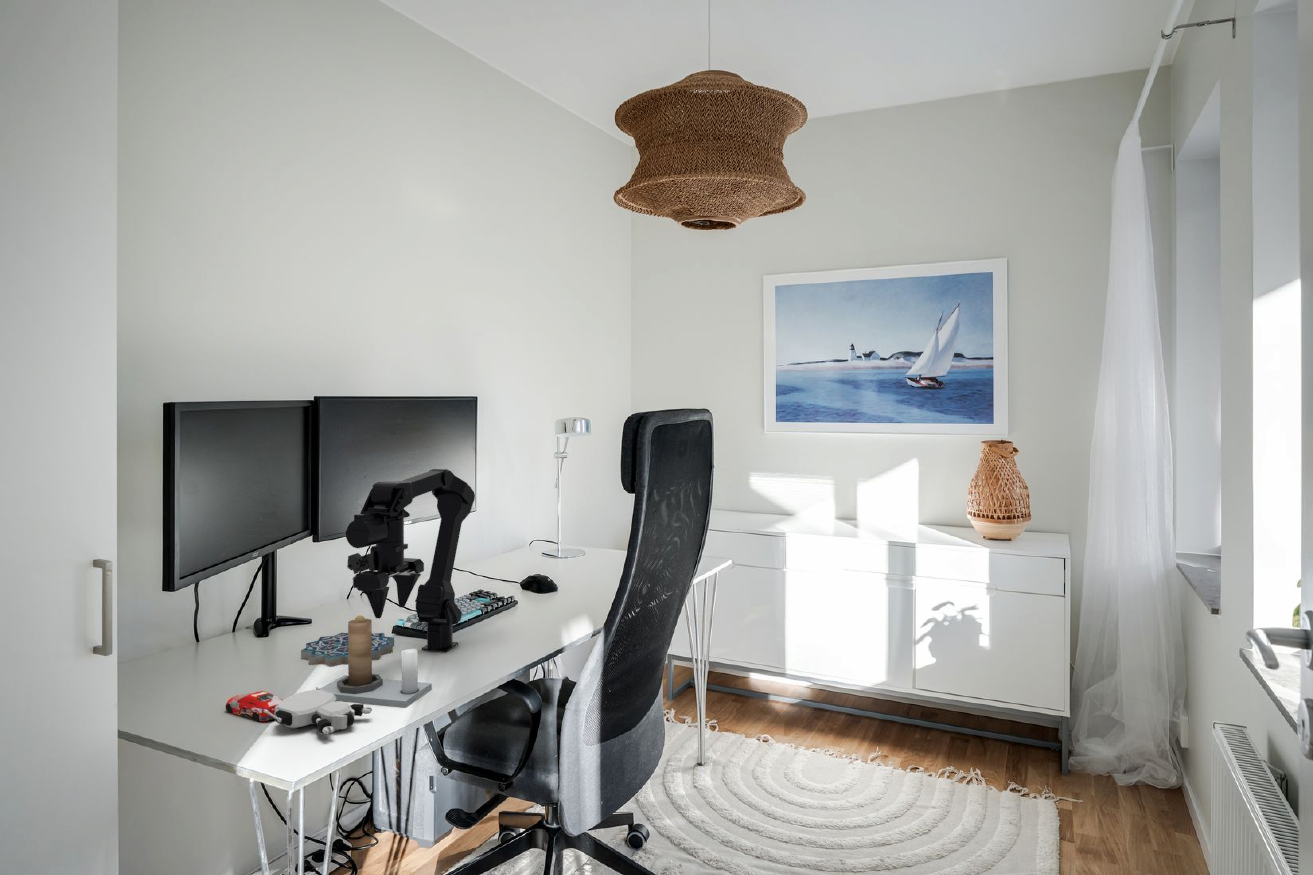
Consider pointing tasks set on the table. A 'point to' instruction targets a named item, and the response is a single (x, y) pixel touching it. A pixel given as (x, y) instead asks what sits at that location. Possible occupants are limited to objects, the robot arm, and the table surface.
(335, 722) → the robot toy
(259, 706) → the race car
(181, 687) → the table surface
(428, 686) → the plate
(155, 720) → the table surface
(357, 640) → the brown tall cylinder
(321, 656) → the decorative tile
